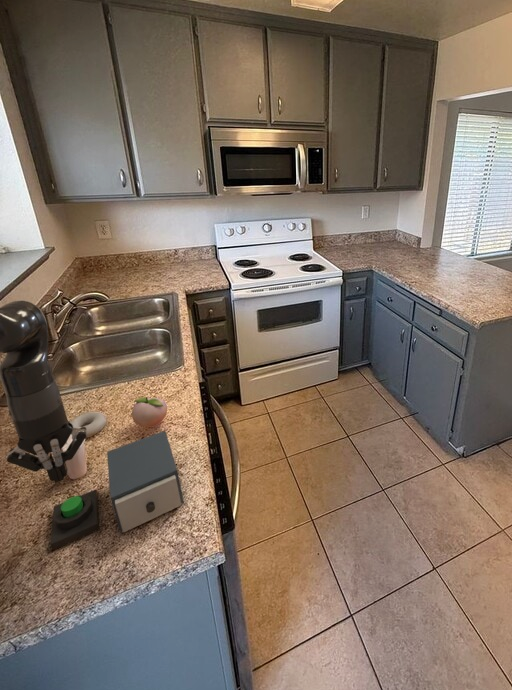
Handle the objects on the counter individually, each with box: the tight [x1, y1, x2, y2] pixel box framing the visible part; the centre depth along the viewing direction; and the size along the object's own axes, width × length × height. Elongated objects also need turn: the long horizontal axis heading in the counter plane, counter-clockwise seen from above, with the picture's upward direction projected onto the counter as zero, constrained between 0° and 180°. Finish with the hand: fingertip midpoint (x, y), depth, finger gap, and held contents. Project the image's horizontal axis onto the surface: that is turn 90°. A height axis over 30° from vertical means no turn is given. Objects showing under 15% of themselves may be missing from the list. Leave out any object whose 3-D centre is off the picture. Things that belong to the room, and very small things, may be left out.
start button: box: [61, 495, 83, 517], centre depth 75 cm, size 4×4×2 cm
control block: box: [49, 489, 100, 551], centre depth 76 cm, size 10×8×4 cm
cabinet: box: [106, 430, 184, 534], centre depth 81 cm, size 15×13×10 cm
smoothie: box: [63, 435, 88, 480], centre depth 86 cm, size 6×6×14 cm
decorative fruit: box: [131, 396, 168, 428], centre depth 102 cm, size 9×8×10 cm
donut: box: [70, 410, 107, 439], centre depth 103 cm, size 10×4×10 cm
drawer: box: [115, 475, 182, 533], centre depth 79 cm, size 15×11×8 cm
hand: (60, 478), depth 72 cm, fingers closed
